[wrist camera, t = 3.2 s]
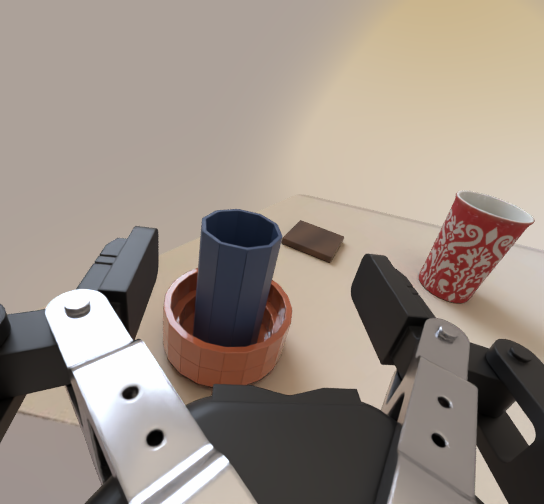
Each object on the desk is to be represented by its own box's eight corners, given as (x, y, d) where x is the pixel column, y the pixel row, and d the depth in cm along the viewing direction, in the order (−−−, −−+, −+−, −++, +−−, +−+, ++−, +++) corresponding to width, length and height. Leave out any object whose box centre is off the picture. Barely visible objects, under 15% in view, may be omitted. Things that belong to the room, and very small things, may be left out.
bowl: (135, 352, 28) (133, 310, 25) (209, 287, 37) (213, 251, 34) (246, 417, 25) (257, 378, 22) (296, 329, 34) (308, 293, 31)
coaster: (281, 243, 48) (282, 237, 48) (299, 225, 55) (300, 220, 54) (329, 263, 46) (331, 257, 46) (342, 241, 53) (344, 236, 52)
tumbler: (178, 342, 29) (183, 228, 22) (216, 304, 34) (230, 202, 27) (235, 374, 27) (258, 260, 21) (266, 329, 32) (292, 226, 26)
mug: (484, 317, 42) (550, 230, 35) (416, 295, 43) (466, 207, 36) (461, 268, 53) (508, 194, 46) (407, 252, 54) (445, 177, 47)
